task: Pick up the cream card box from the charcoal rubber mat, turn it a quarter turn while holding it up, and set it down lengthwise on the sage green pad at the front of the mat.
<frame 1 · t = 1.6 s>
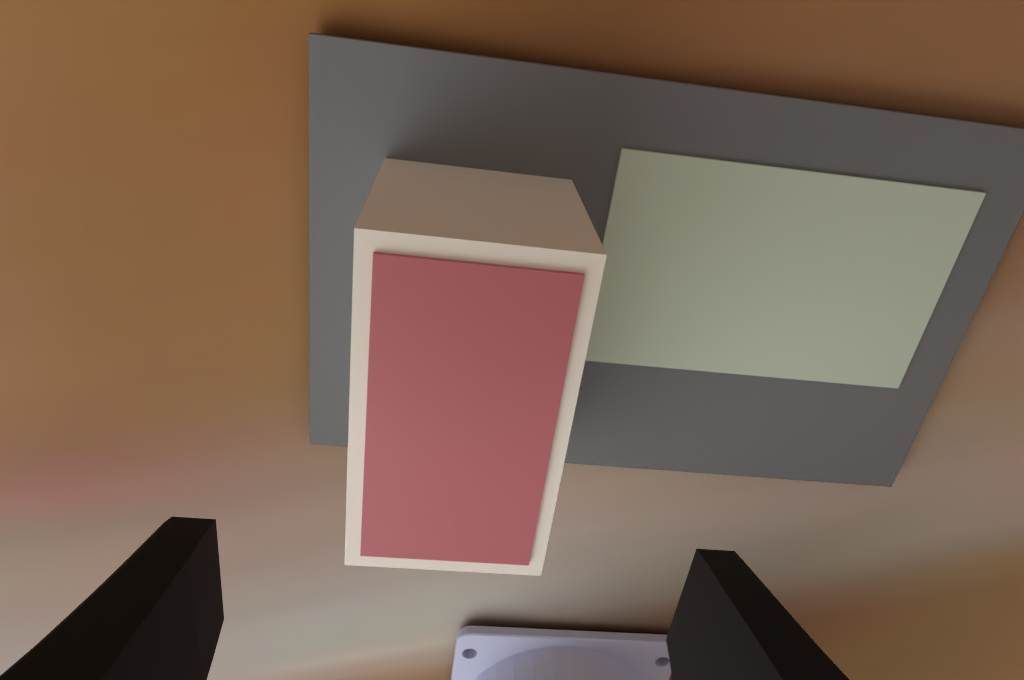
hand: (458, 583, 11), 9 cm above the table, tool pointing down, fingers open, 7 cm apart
card box: (463, 318, 19), resting on mat
mat: (651, 297, 19), on the table
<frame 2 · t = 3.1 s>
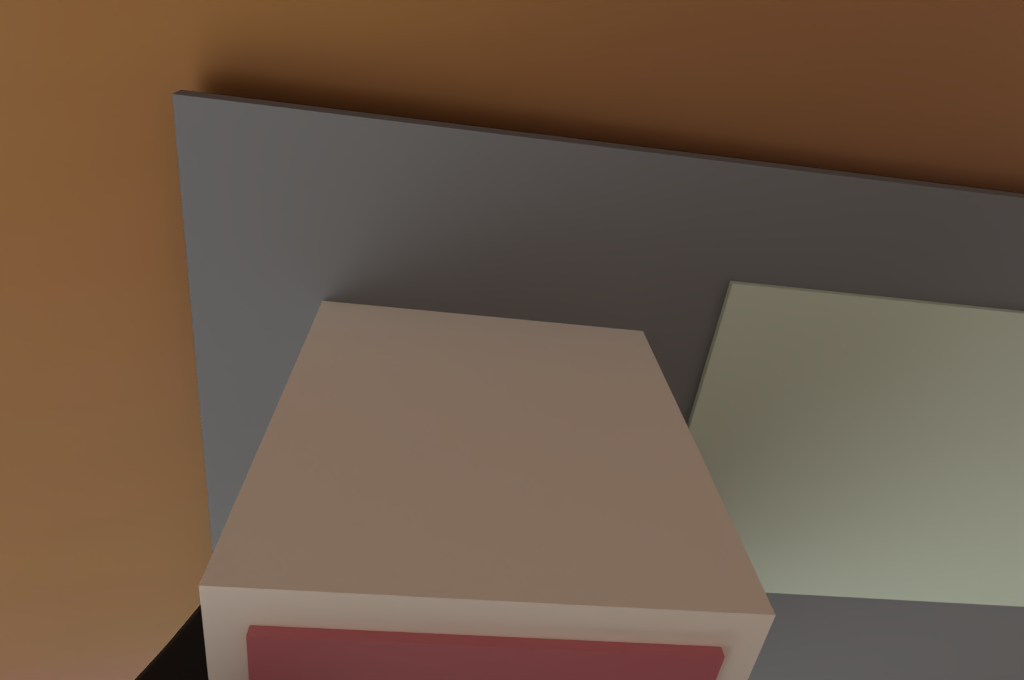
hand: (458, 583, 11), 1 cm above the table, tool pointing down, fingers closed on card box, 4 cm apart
card box: (459, 531, 12), resting on mat, touching gripper
mat: (757, 493, 12), on the table
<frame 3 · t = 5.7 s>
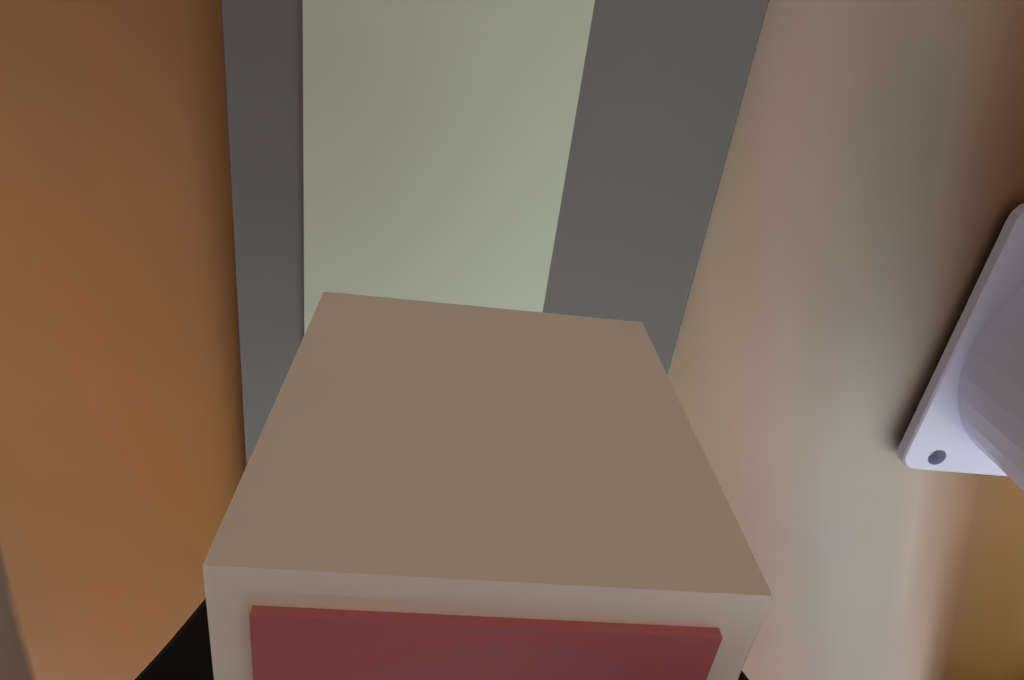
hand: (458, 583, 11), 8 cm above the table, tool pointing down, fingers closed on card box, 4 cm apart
card box: (459, 522, 12), point 7 cm above the table, touching gripper
mat: (466, 294, 18), on the table
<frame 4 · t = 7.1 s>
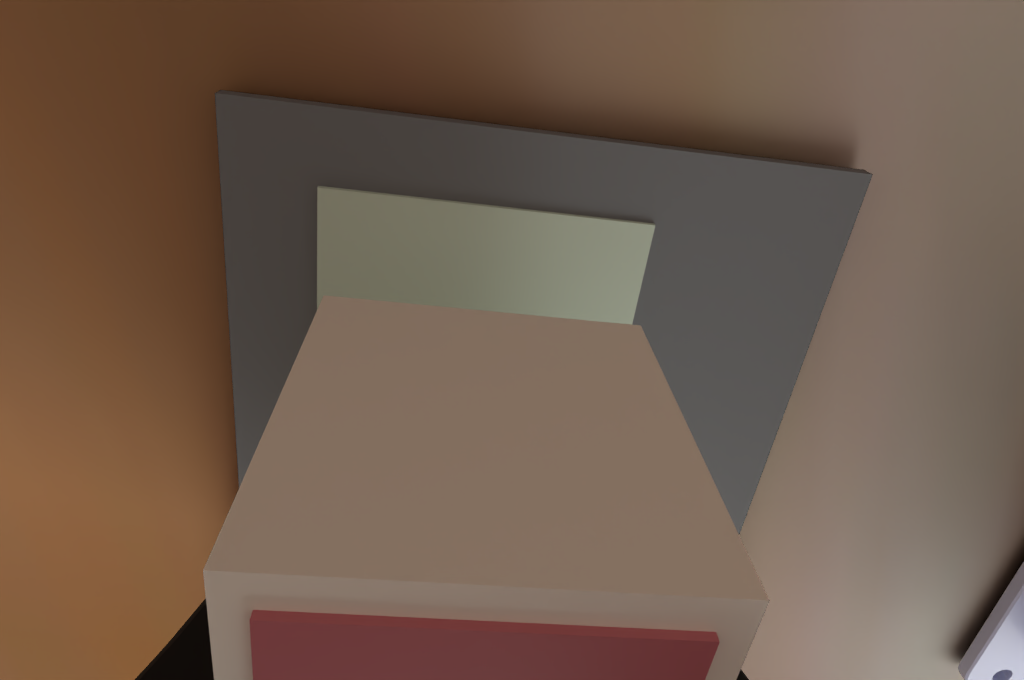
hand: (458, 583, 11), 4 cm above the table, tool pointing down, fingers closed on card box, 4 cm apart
card box: (459, 525, 12), point 3 cm above the table, touching gripper
mat: (494, 533, 16), on the table
when the fingers open (2 cm above the table, at t = 8.3 s): card box stays where it is, resting on mat.
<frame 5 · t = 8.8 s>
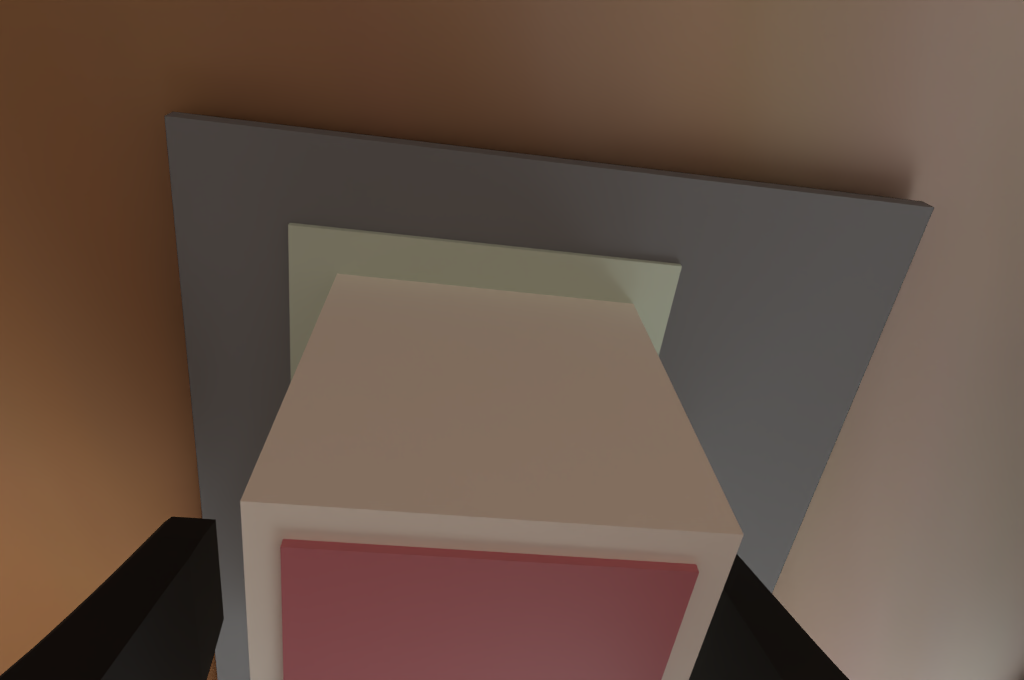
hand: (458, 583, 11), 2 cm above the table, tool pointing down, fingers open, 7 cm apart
card box: (461, 494, 13), resting on mat
mat: (495, 600, 14), on the table
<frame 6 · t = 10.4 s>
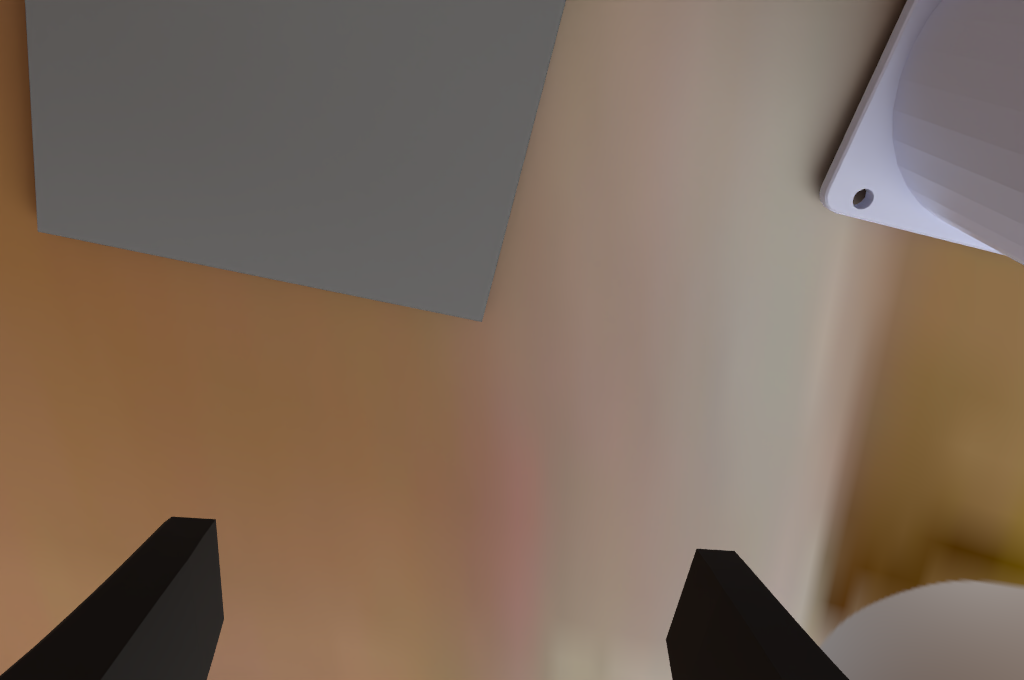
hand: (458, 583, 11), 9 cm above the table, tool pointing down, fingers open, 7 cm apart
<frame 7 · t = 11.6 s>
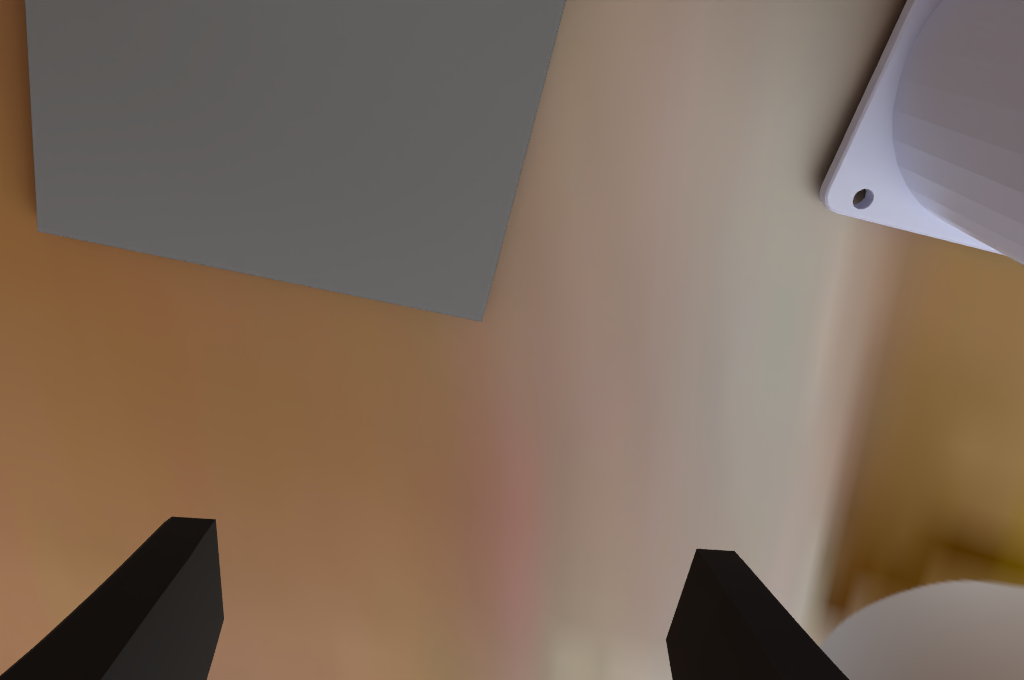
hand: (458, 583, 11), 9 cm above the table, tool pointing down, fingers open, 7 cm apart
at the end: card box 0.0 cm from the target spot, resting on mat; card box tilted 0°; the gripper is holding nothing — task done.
